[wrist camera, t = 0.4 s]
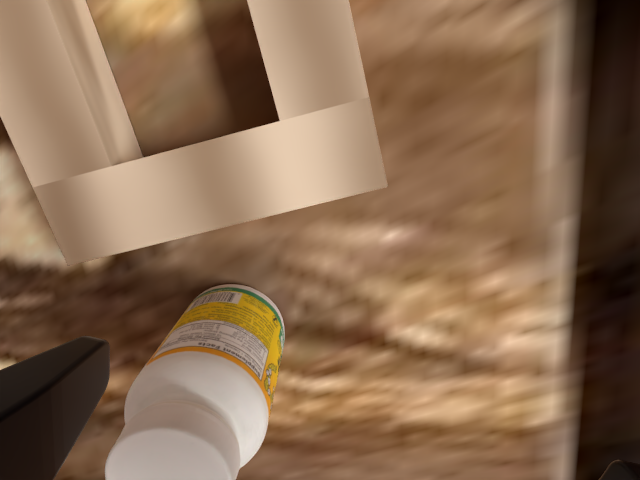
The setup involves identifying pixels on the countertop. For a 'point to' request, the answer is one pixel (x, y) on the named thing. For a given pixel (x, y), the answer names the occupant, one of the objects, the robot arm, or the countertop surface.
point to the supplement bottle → (203, 391)
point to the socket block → (190, 161)
